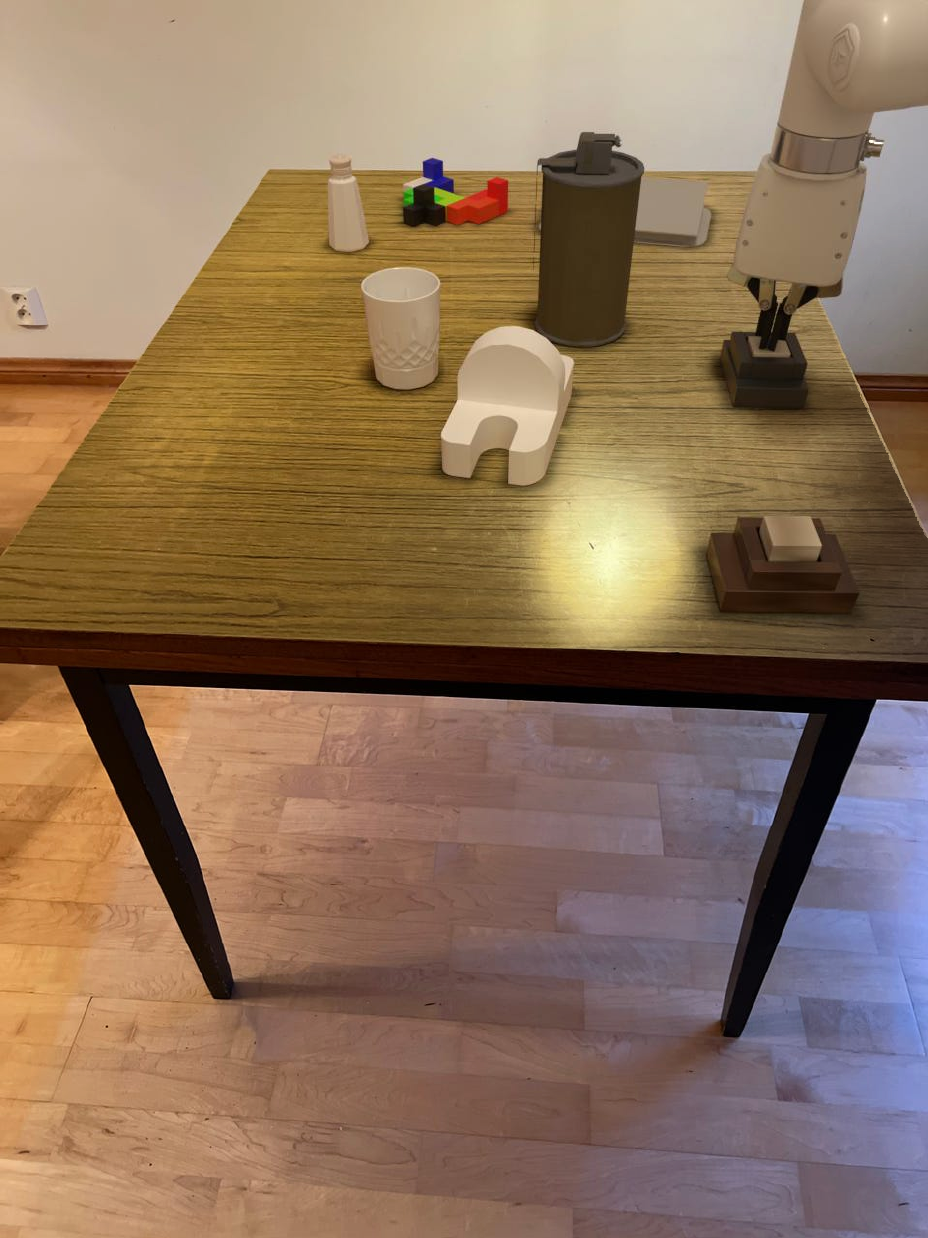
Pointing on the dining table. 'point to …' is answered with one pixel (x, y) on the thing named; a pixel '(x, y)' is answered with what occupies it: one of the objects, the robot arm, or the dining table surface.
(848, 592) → the near block
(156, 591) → the dining table surface
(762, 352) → the far key
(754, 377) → the far block
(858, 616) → the dining table surface
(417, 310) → the white cup
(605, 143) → the canister
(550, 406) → the slotted bracket
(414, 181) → the building blocks
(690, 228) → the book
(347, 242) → the salt shaker
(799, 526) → the near key
